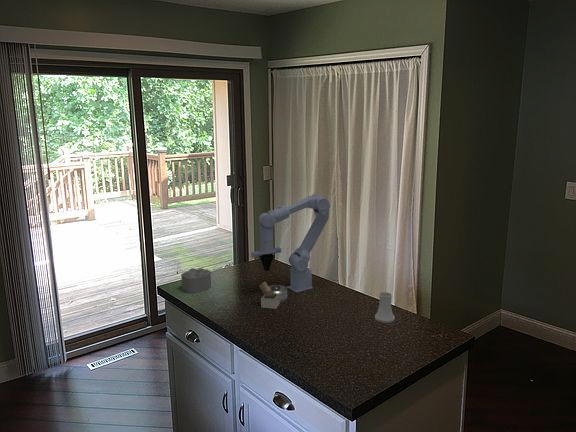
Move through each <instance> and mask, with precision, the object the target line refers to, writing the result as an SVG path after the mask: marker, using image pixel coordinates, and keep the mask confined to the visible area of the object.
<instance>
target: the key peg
mask: <svg viewBox="0 0 576 432" xmlns="http://www.w3.org/2000/svg"><path fill="white" fill-rule="evenodd" d="M269 286H270V285H268V283H267V282H266V281H263V282H262V283H261V284H259V285H258V287H259V289H260V290H261V291H262V293H263V295H264V294H265V296H266V297H267V298H275V295H274V294H273V292H272V291H271V289H270V288H269Z"/></svg>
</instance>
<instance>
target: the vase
mask: <svg viewBox="0 0 576 432" xmlns="http://www.w3.org/2000/svg"><path fill="white" fill-rule="evenodd" d="M378 297H379V303H378V307H377V312H376V313H375V315H374V319H375V321H377V322H379V323H383V324H389V323H390V324H391V323H393V322H394V321H395V317H396V316H395V315H394V313H393V310H392V297H393V294H392V293H391V292H385V291H384V292H380V293H379V294H378Z"/></svg>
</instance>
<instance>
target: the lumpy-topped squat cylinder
mask: <svg viewBox="0 0 576 432" xmlns="http://www.w3.org/2000/svg"><path fill="white" fill-rule="evenodd" d="M211 274H212V273H211V270H210V269H205V268H202V267H200V268H197V269H196V268H194V267H193V268H192V267H191V268H190V269H188V270H187V271H185V272H182V273H181V290H182V291H184V292H186V293H187V294H190V295H192V294H198V293H201V292H205V291H208V290H209V289H211V287H212V278H211V277H212V276H211Z"/></svg>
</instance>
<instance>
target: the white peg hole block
mask: <svg viewBox="0 0 576 432" xmlns="http://www.w3.org/2000/svg"><path fill="white" fill-rule="evenodd" d="M268 286H269V288H270V289H271V291H272V292H273V294H274V295H275V298H267V297H266V296H265V294H264V293H263V295H262V296H261V298H260V307H261V309H262V308H263V309H264V308H265V309H273V310H277V308H278V306H279V305H280V304H281V303H282V302H285V301H286V300H287V299H288V288H287V286H285V285H281V284H275V285H274V284H272V285H268Z"/></svg>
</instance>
